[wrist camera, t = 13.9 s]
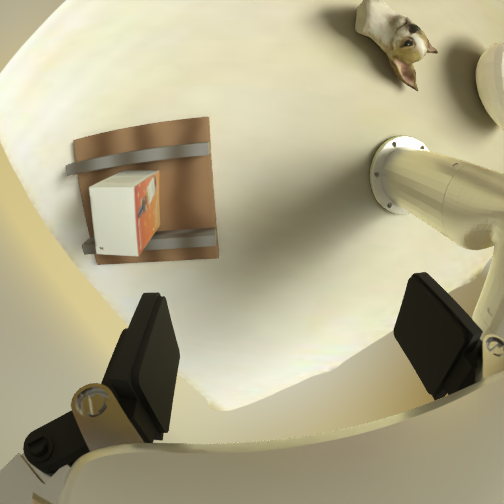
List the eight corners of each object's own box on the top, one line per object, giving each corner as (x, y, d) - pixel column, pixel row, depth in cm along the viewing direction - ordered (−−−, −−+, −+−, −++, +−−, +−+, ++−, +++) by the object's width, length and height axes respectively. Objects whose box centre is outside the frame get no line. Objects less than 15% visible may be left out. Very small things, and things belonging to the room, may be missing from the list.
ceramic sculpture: (387, -27, 17) (462, 48, 22) (359, -9, 25) (427, 51, 29) (356, 16, 21) (440, 95, 26) (329, 32, 29) (405, 93, 33)
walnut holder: (209, 117, 34) (206, 116, 30) (218, 254, 42) (217, 267, 38) (77, 139, 33) (62, 142, 29) (100, 261, 41) (90, 273, 38)
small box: (161, 225, 38) (139, 259, 29) (125, 223, 38) (95, 256, 28) (160, 169, 35) (135, 186, 25) (122, 169, 34) (87, 186, 25)
